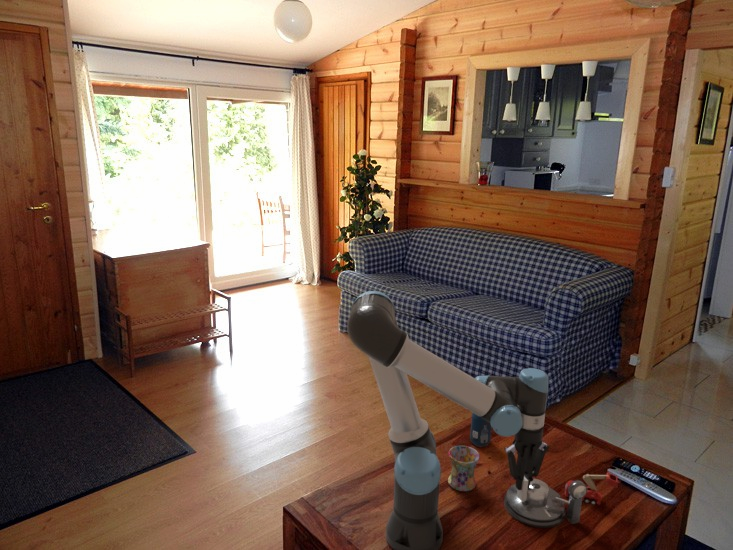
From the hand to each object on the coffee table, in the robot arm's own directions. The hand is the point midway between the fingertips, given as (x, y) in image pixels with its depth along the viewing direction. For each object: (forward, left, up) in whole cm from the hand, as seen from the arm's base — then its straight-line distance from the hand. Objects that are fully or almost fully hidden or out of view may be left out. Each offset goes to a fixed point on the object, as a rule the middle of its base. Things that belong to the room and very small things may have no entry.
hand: (521, 497), depth 158 cm
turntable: (+5, 0, -3) cm, 5 cm away
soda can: (+5, +35, -4) cm, 36 cm away
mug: (-11, +16, -4) cm, 20 cm away
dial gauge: (+11, -6, -4) cm, 14 cm away
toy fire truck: (+22, -1, -4) cm, 23 cm away
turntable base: (+5, 0, -4) cm, 6 cm away
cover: (+4, 0, -1) cm, 4 cm away
